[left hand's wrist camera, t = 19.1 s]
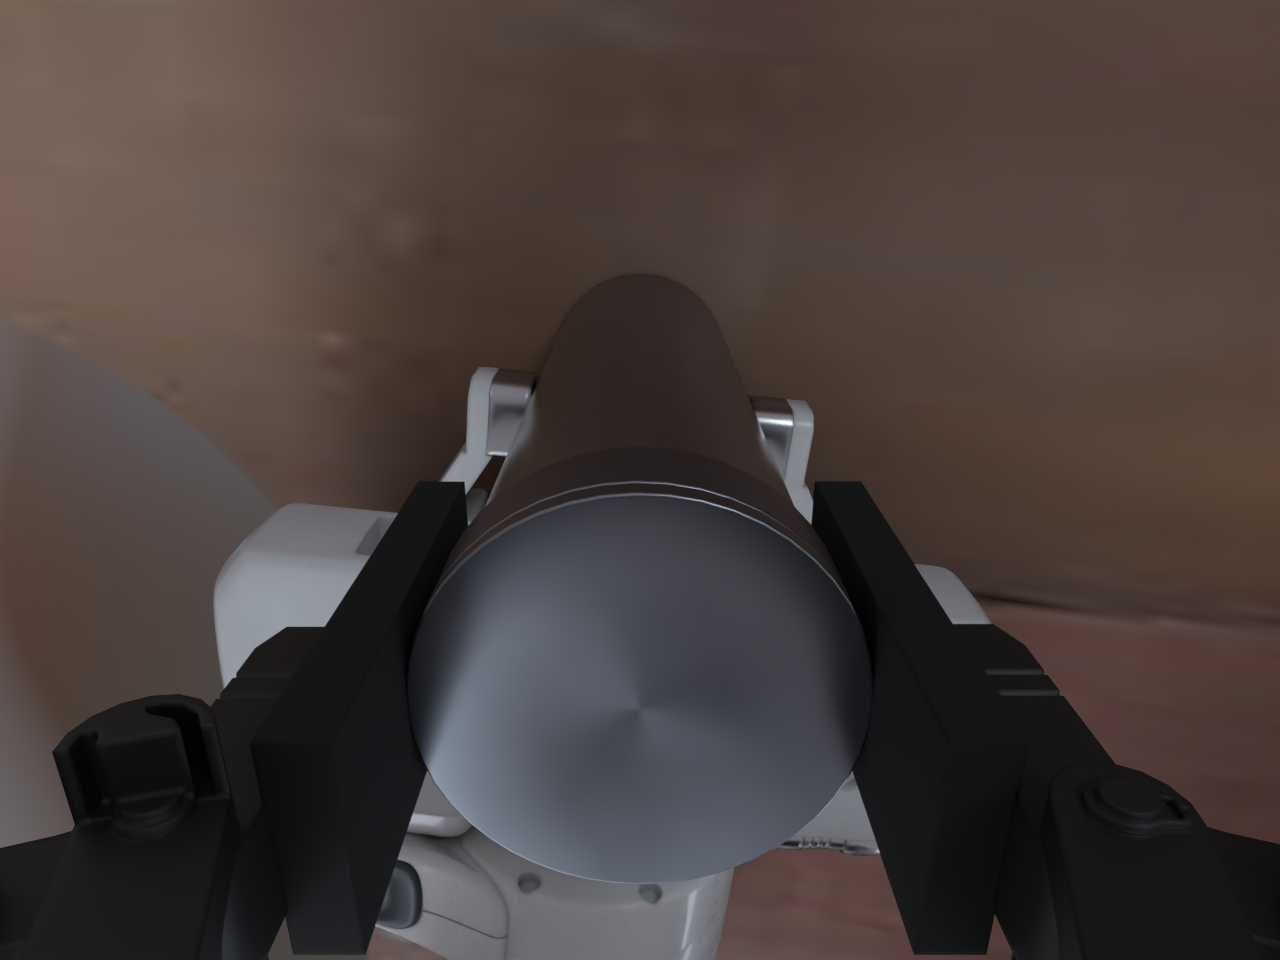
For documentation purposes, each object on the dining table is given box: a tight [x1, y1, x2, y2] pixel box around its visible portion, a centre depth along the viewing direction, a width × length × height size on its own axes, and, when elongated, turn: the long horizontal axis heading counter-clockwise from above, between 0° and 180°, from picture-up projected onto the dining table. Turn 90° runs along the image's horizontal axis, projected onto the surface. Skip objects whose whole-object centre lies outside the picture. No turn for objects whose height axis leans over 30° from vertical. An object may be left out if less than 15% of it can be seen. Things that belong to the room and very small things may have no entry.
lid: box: [406, 447, 874, 884], centre depth 11 cm, size 6×6×2 cm
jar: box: [485, 274, 795, 507], centre depth 19 cm, size 5×5×18 cm
